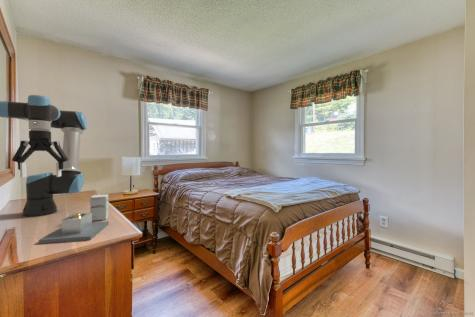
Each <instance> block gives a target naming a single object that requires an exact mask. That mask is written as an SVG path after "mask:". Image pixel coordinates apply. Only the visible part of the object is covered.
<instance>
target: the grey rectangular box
mask: <svg viewBox="0 0 475 317" xmlns="http://www.w3.org/2000/svg"><path fill="white" fill-rule="evenodd" d="M77 213H79V214H81V217H80V218H74V216H75V214H77ZM92 222H93V221H92V213H90V212H75V213H73V214H71V215H69V216H67V217H64V218H63V219H61V227H62V234H70V233H81V232H83V231H84V230H86V229H87V228H89V227H90V226H92Z"/></svg>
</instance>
